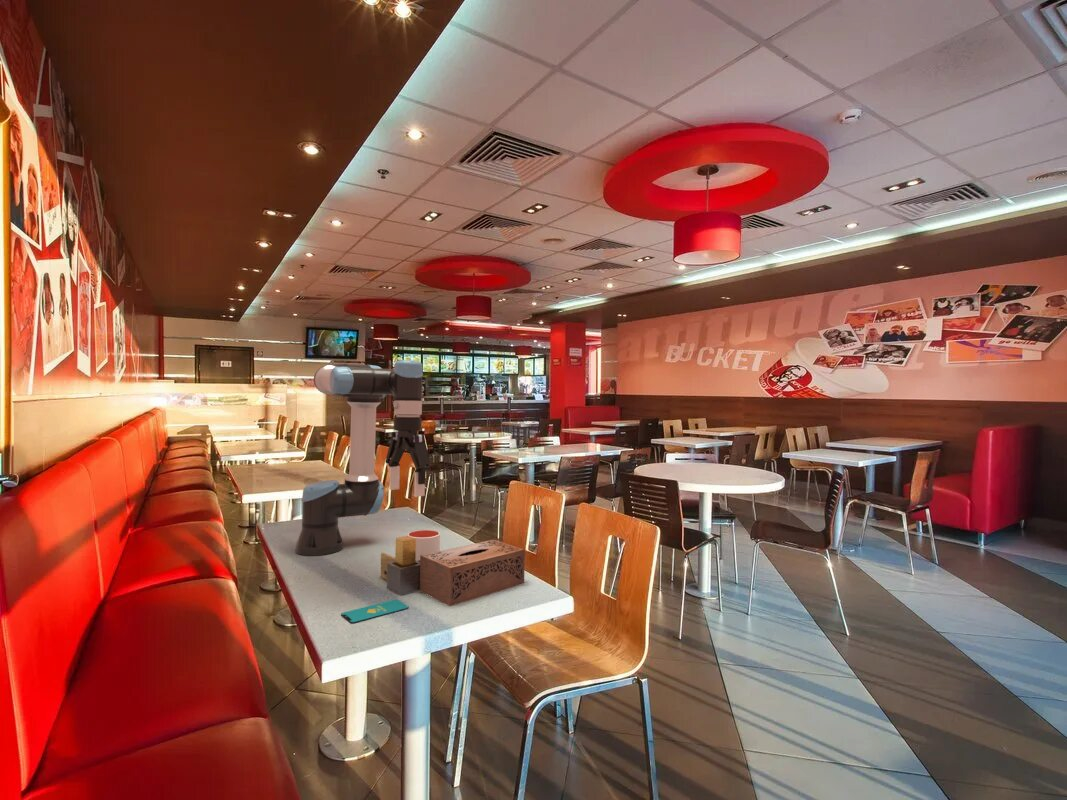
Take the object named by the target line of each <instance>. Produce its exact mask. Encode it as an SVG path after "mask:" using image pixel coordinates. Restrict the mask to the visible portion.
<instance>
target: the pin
mask: <svg viewBox="0 0 1067 800" xmlns="http://www.w3.org/2000/svg"><path fill="white" fill-rule="evenodd" d="M394 549H395V551H394V552H395V553H394V554H395V557H394V558H395V565H396V566H398V567H401V568H404V567H408V566H413V565H415V563H416V538H413V537H411V536H408V535H404V536H401V537H395V548H394Z"/></svg>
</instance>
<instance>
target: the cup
mask: <svg viewBox="0 0 1067 800" xmlns="http://www.w3.org/2000/svg"><path fill="white" fill-rule="evenodd" d="M407 536H411V537H413V538H416V561H417V560H420V555H425V554H429V553H434V552H438V551H441V550H440V547H441V533H440V532H439V531H438V530H432V529H431V530H429V529H423V530H422V529H420V530H413V531H410V532H409V533H407Z"/></svg>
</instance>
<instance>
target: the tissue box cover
mask: <svg viewBox="0 0 1067 800" xmlns="http://www.w3.org/2000/svg"><path fill="white" fill-rule="evenodd" d="M525 552H526V551H525V549H524V548H521V547H518V546H514V545H511V544H508V543H505V542H502V541H500V540H496V539H489V540H485V541H482V542H476V543H472V544H466V545H462V546H457V547H453V548H448V549H444V550H440V551H438V552H434V553H429V554H425V555H420V590H419V592H421V593H423V594H425V595H427V594H428V595H427V596H429V595H430V596H429V597H431V596H432V597H431V598H433V599H434V600H438V601H439V602H441V603H443V604H445V605H447V606H449V607H451V606H454V605H455V606H456V605H457V604H461V603H465V602H468V601H471V600H474V599H478V598H481V597H484V596H487V595H490V594H494V593H498V592H500V591H504V590H507V589H510V588H514V587H517V586H520V585H524V584H525V560H526V559H525Z"/></svg>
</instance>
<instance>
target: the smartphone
mask: <svg viewBox="0 0 1067 800" xmlns="http://www.w3.org/2000/svg"><path fill="white" fill-rule="evenodd" d="M409 609H410V608H409V606H408V605H407V604H405V603H404V602H402V601H400V600H398V599H391V600H387V601H385V602H380V603H379V602H378V603H375V604H371V605H367V606H363V607H360V608H355V609H352V610H348V611H344V612H341V613H340V616H341V617H342V618H343V619H344V620H345V621H347V622H348V623H349V624H351V625H352V624H353V625H354V624H359V623H362V622H366V621H369V620H374V619H376V618H380V617H384V616H386V615H387V616H389V615H390V614H395V613H399V612H402V611H405V610H409Z"/></svg>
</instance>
